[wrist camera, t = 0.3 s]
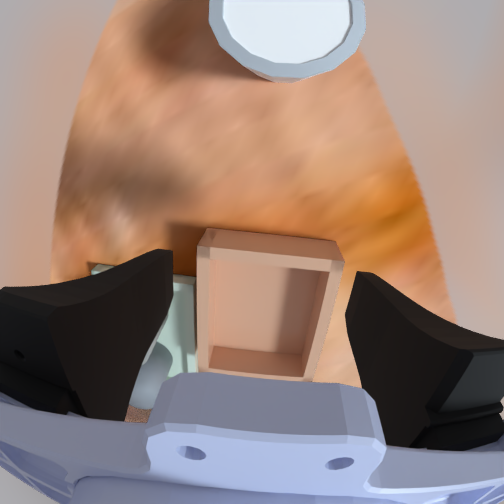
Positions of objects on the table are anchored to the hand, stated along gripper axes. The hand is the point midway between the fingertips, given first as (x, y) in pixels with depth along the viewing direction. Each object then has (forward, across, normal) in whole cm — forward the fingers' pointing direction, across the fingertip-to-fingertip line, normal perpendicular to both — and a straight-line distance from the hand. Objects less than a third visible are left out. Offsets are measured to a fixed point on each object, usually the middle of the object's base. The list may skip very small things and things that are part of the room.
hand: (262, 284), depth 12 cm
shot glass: (+10, 0, -11) cm, 15 cm away
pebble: (+10, +9, +14) cm, 19 cm away
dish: (+10, 0, +7) cm, 12 cm away
